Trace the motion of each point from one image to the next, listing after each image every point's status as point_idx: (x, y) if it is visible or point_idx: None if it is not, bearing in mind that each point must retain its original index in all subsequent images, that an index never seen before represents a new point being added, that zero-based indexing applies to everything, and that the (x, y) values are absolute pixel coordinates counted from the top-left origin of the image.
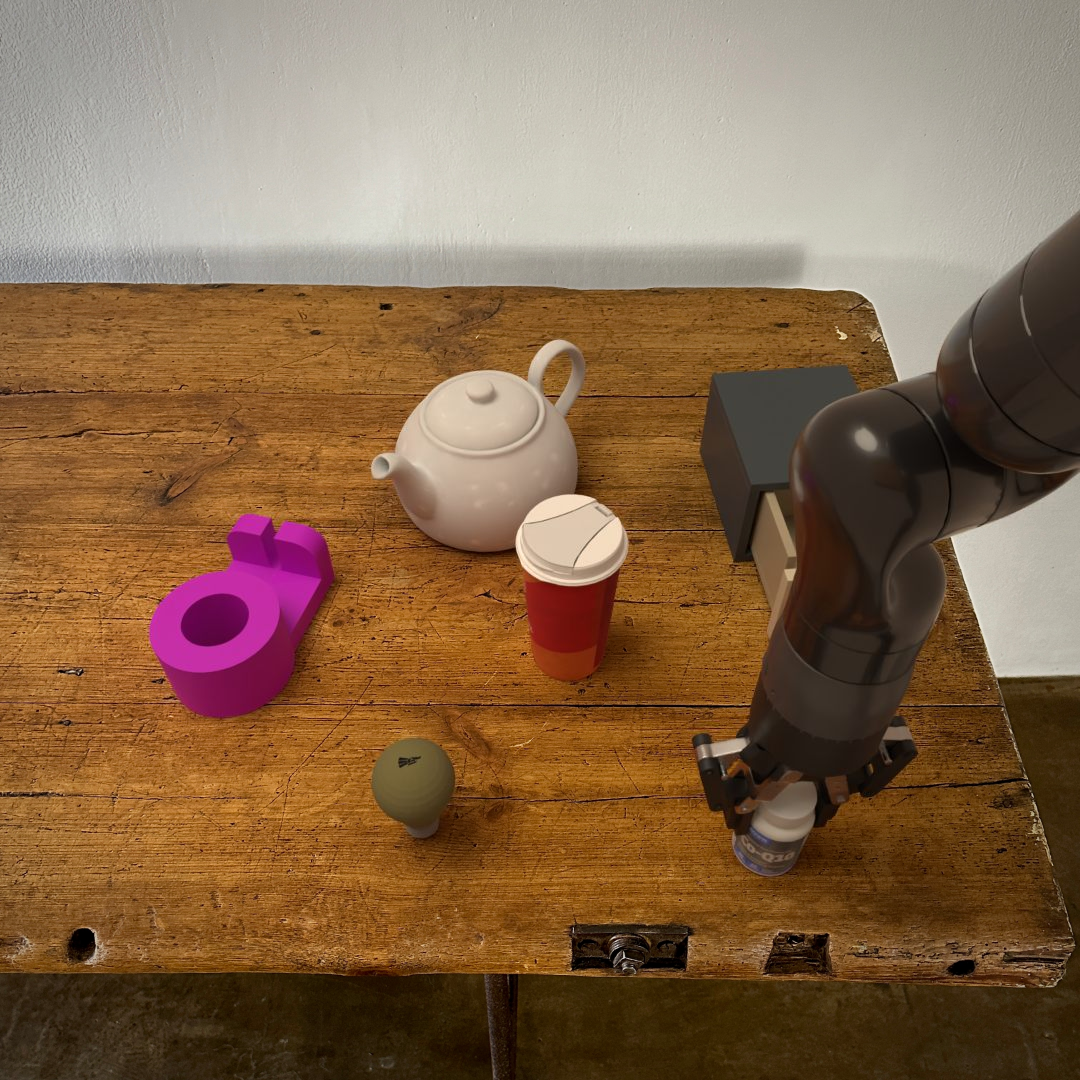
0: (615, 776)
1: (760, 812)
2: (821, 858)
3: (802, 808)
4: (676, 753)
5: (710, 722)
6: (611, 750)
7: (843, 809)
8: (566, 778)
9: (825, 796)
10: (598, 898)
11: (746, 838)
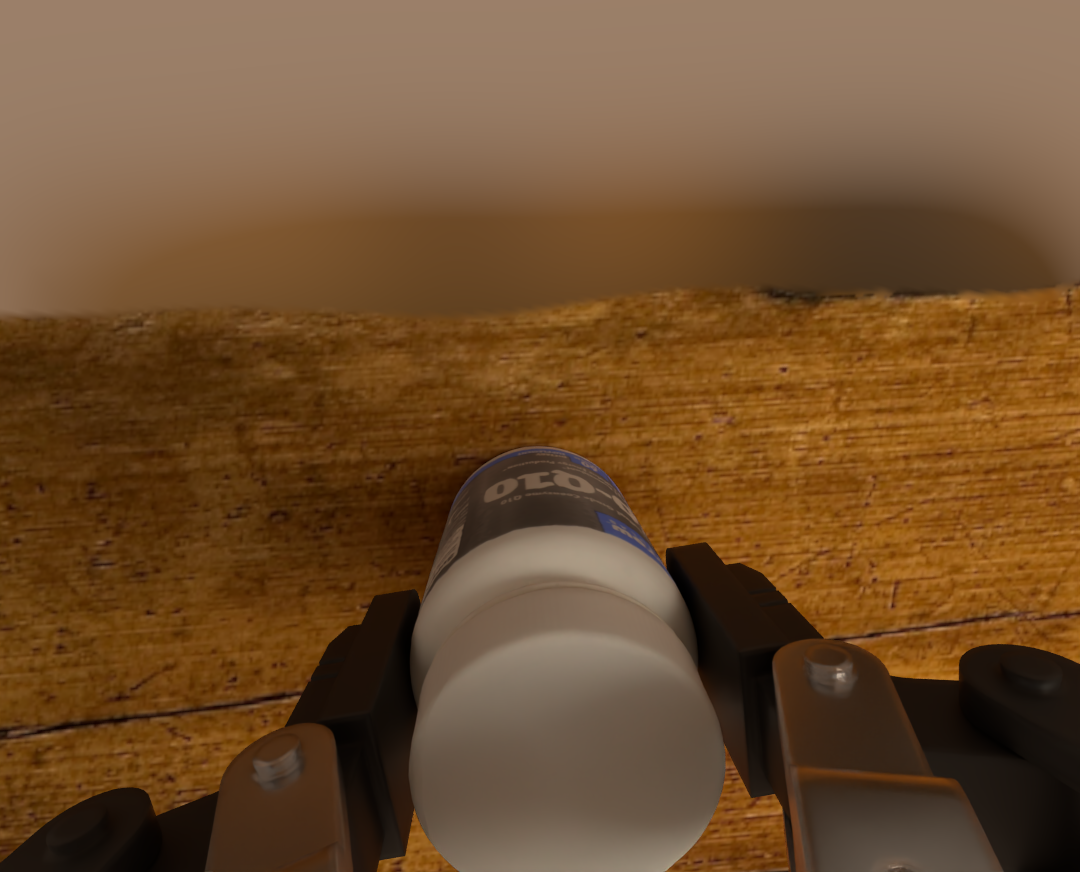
0: None
1: (685, 648)
2: (383, 507)
3: (497, 693)
4: None
5: None
6: None
7: (309, 645)
8: None
9: (364, 758)
10: (998, 361)
11: (647, 538)
